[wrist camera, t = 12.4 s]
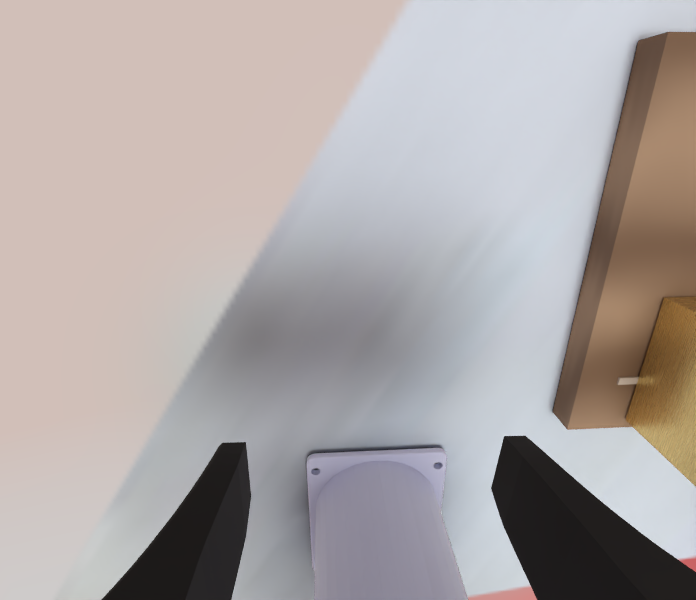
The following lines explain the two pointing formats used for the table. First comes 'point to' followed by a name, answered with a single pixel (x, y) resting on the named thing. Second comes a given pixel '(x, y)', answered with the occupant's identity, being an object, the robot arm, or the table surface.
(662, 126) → the board
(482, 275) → the table surface
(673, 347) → the upright wooden block
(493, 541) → the table surface
